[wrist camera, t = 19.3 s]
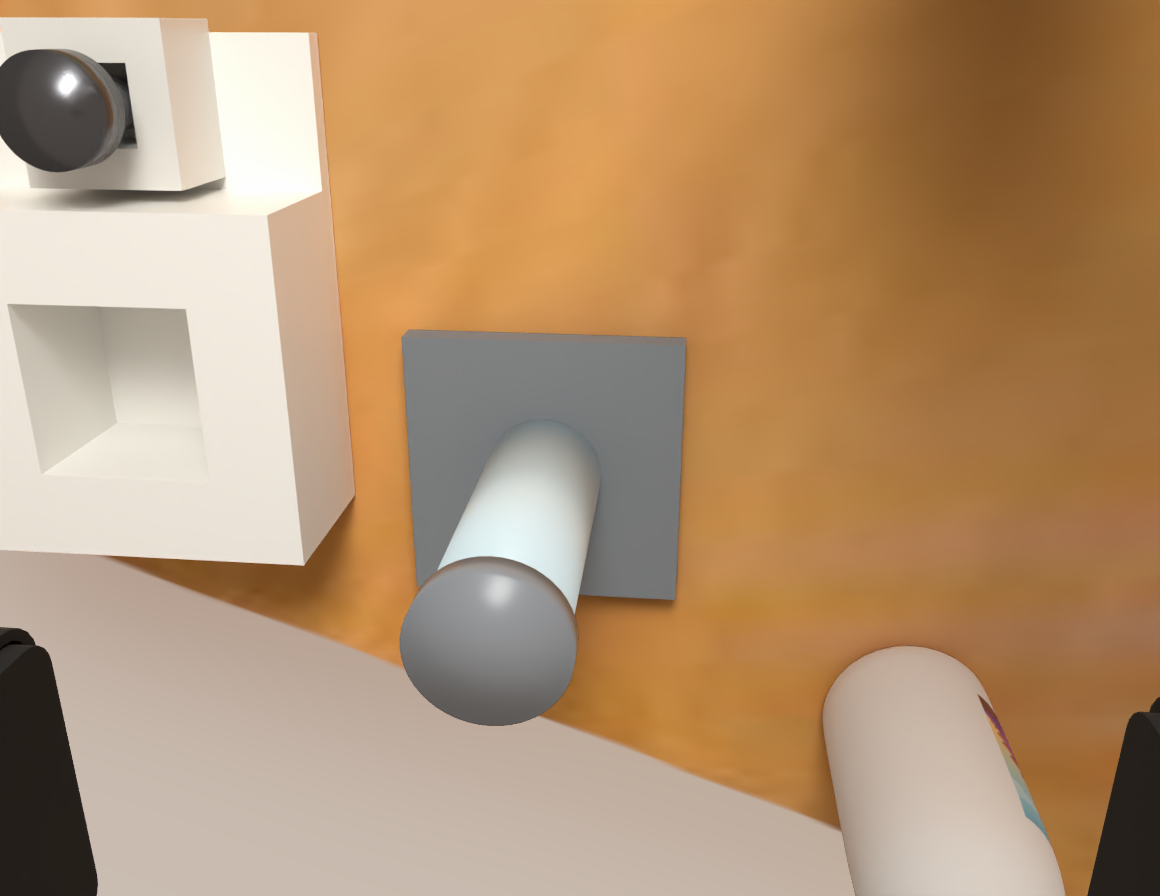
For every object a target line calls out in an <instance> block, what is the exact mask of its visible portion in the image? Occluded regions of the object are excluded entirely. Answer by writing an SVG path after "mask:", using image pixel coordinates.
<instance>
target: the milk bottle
mask: <svg viewBox="0 0 1160 896" xmlns="http://www.w3.org/2000/svg"><path fill="white" fill-rule="evenodd" d="M822 720H823V730H824V737H825V744H826V749H827V755H828V761H829V766H830V772H831V777H832V783H833V788H834V794H835V799H836V804H837V810H838V815H839V820H840V825H841V831H842V836H843V840H844V846H845V851H846V856H847V861H848V866H849V870H850V874H851V879H852V883H853V887H854V891H855V895H856V896H1065V891H1064V885H1063V881H1062V877H1061V873H1060V869H1059V866H1058V863H1057V860H1056V857H1055V855H1054V852H1053V849H1052V847H1051V844H1050V841H1049V838H1048V836H1047V833H1046V830H1045V828H1044V825H1043V823H1042V821H1041V818H1040V816H1039V813H1038V811H1037V809H1036V806H1035V804H1034V802H1033V799H1032V797H1031V794H1030V792H1029V790H1028V787H1027V785H1026V783H1025V780H1024V778H1023V776H1022V773H1021V771H1020V769H1019V766H1018V764H1017V762H1016V759H1015V757H1014V755H1013V753H1012V750H1011V748H1010V746H1009V743H1008V741H1007V739H1006V736H1005V734H1004V732H1003V730H1002V727H1001V725H1000V723H999V720H998V718H997V716H996V714H995V711H994V709H993V707H992V705H991V702H990V700H989V698H988V696H987V694H986V692H985V690H984V688H983V686H982V685H981V683H980V681H979V680H978V678H977V677H976V676H975V675H974V674H973V672H972V671H971V670H970V669H968V668H967V667H966V666H965V665H964V664H962V663H961V662H959V661H958V660H956V659H954V658H953V657H951V656H948V655H946V654H944V653H942V652H940V651H937V650H933V649H929V648H926V647H918V646H909V645H908V646H893V647H889V648H885V649H880V650H876V651H874V652H872V653H870V654H867V655H865V656H862V657H861V658H859V659H858V660H857V661H855V662H853V663H852V664H850V665H849V666H848V667H847V668H846V669H845V670H844V671H843V672H842V673H841V674H840V675H839V676H838V678H837V679H836V681H835V682H834V683H833V685H832V686H831V688H830V690H829V692H828V694H827V697H826V699H825V702H824V707H823V714H822Z"/></svg>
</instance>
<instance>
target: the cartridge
mask: <svg viewBox="0 0 1160 896" xmlns="http://www.w3.org/2000/svg"><path fill="white" fill-rule="evenodd" d="M600 483H601V467H600V462H599V459H598V456H597V454H596V452H595V450H594V448H593V447H592V445H591V444H590V443H589V442H588V440H587V439H586V438H585V437H584V436H583V435H581V434H580V433H579V432H578V431H576V430H575V429H573V428H571V427H569V426H567V425H565V424H562V423H559V422H555V421H550V420H534V421H528V422H524V423H521V424H519V425H517V426H515V427H513V428H511V429H510V430H508V431H507V432H506V433H505V434H503V435H502V437H501V438H500V439H499V440H498V441H497V443H496V444H495V446H494V448H493V450H492V452H491V454H490V456H489V458H488V461H487V463H486V465H485V467H484V469H483V471H482V474H481V476H480V478H479V480H478V482H477V485H476V487H475V489H474V491H473V493H472V495H471V498H470V500H469V502H468V504H467V506H466V509H465V511H464V513H463V515H462V517H461V519H460V522H459V524H458V526H457V528H456V530H455V532H454V535H453V537H452V539H451V541H450V543H449V546H448V548H447V550H446V552H445V554H444V556H443V559H442V561H441V563H440V565H439V567H438V570H437V571H436V572H435V573H434V574H432V575H431V576H430V577H429V578H428V579H427V580H426V581H425V582H424V583H423V585H422V586H421V587H420V589H419V590H418V592H417V594H416V596H415V598H414V600H413V602H412V604H411V606H410V608H409V610H408V612H407V614H406V616H405V619H404V622H403V625H402V628H401V634H400V652H401V658H402V662H403V665H404V668H405V670H406V672H407V675H408V677H409V678H410V680H411V681H412V683H413V685H414V686H415V687H416V688H417V689H418V691H419V692H420V693H421V694H422V695H423V696H424V697H425V698H426V699H427V700H428V701H429V702H430V703H432V704H433V705H434V706H435V707H437V708H438V709H440V710H442V711H443V712H445V713H447V714H449V715H451V716H453V717H455V718H458V719H460V720H463V721H466V722H470V723H474V724H479V725H487V726H504V725H512V724H517V723H521V722H524V721H527V720H530V719H532V718H534V717H537V716H539V715H541V714H542V713H544V712H545V711H547V710H548V709H549V708H551V707H552V706H553V705H554V704H555V703H556V702H557V701H558V700H559V699H560V697H561V696H562V695H563V694H564V692H565V690H566V689H567V687H568V685H569V682H570V680H571V678H572V674H573V670H574V665H575V659H576V654H577V648H578V638H579V636H578V626H577V621H576V617H575V611H576V605H577V600H578V595H579V590H580V585H581V580H582V575H583V570H584V565H585V560H586V555H587V549H588V544H589V539H590V534H591V529H592V524H593V519H594V514H595V509H596V504H597V498H598V493H599V488H600Z"/></svg>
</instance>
